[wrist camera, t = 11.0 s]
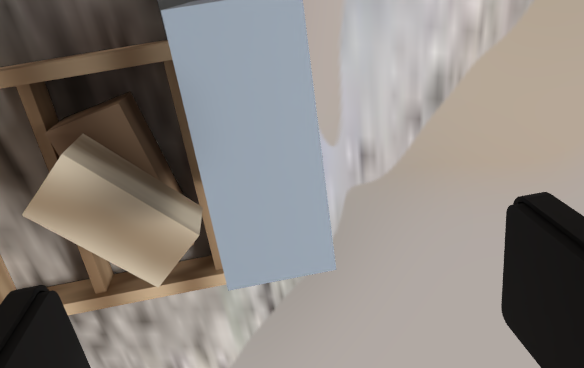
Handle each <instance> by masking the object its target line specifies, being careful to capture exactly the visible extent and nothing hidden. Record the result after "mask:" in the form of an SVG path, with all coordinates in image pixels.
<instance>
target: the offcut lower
mask: <svg viewBox="0 0 584 368" xmlns="http://www.w3.org/2000/svg"><path fill="white" fill-rule="evenodd" d="M45 134H46V136H47V137H48V139H49V140H50V142H51V144H52V145H53V147H54V148H55V150H56V152H57V153H58V155H59V157H60V156H61V154H62V153H63V152H64V151H65V150H66V149H67V148H68V147H69V146H70V145H71V144H73V143H74V142H75V141H76V140H77V139H78V138H79V137H80V136H81V135H82V134H85V135H86V136H88V137H90V138H91V139H93V140H95V141H96V142H98V143H99V144H101V145H103V146H104V147H106V148H108V149H109V150H111V151H112V152H114V153H116V154H117V155H119V156H120V157H122V158H124V159H125V160H127V161H129V162H130V163H132V164H133V165H135V166H137V167H138V168H140V169H142V170H143V171H145V172H146V173H148V174H150V175H151V176H153V177H154V178H156V179H158V180H159V181H161V182H163V183H164V184H166V185H167V186H169V187H171V188H172V189H174V190H176V191H177V192H179V193H180V194H182V195H184V194H183V193H182V191H181V189H180V187H179V185H178V183H177V181H176V179H175V177H174V175H173V173H172V171H171V169H170V167H169V165H168V164H167V162H166V160H165V158H164V156H163V154H162V152H161V150H160V148H159V146H158V144H157V142H156V140H155V138H154V136H153V134H152V133H151V131H150V129H149V127H148V125H147V123H146V121H145V119H144V117H143V115H142V113H141V111H140V109H139V107H138V105H137V104H136V102H135V100H134V98H133V96H132V94H131V92H128V93H126V94H123V95H121V96H118V97H116V98H113V99H111V100H108V101H106V102H103V103H101V104H98V105H96V106H93V107H91V108H88V109H85V110H83V111H80V112H78V113H75V114H73V115H70V116H68V117H65V118H63V119H62V120H61V121H60V122H58V123H57V124H56V125H54V126H53V127H52V128H50V129H49V130H48V131H46V132H45ZM192 245H194V243H193V244H192ZM192 245H191V246H192Z"/></svg>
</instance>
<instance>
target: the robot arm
mask: <svg viewBox="0 0 584 368" xmlns="http://www.w3.org/2000/svg"><path fill="white" fill-rule="evenodd" d="M503 270H504V271H503V288H502V313H503V317H504V320H505V322H506V323H507V325H508V326H509V328H510V329H511V330H512V331H513V333H514V334H515V335H516V336H517V338H518V339H519V340H520V341H521V343H522V344H523V345H524V347H525V348H526V349H527V350H528V352H529V353H530V354H531V355H532V357H533V358H534V359H535V360H536V362H537V363H538V364H539V365H540V367H541V368H584V216H582V215H581V214H579V213H578V212H576V211H575V210H574V209H572V208H570V207H569V206H568V205H566V204H565V203H563V202H562V201H560V200H559V199H557V198H556V197H554V196H553V195H551V194H549V193H547V192H542V193H537V194H531V195H525V196H521V197H517V198H516V199H515V201H514V203H513V205H510V206H509V207H508V209H507V215H506V233H505V251H504V269H503ZM0 368H91V367H90V365H89V363H88V361H87V358H86V356H85V354H84V351H83V349H82V347H81V345H80V342H79V340H78V338H77V335H76V333H75V331H74V329H73V326H72V324H71V322H70V319H69V317H68V315H67V313H66V310H65V308H64V306H63V303H62V301H61V299H60V297H59V295H58V293H57V292H56V291H53V290H52V291H49V289H48V288H47V287H46V286H43V285H39V286H34V287H29V288H23V289H18V290H13V291H11V292H10V293H9V294H8V295H7V296H6V297H5V299H4V300H3V301H2V303H1V304H0Z"/></svg>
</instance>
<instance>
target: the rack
mask: <svg viewBox="0 0 584 368" xmlns="http://www.w3.org/2000/svg"><path fill="white" fill-rule="evenodd" d="M162 61H163V63H164V67H165V71H166V75H167V79H168V83H169V87H170V91H171V94H172V98H173V102H174V106H175V110H176V114H177V118H178V122H179V126H180V130H181V134H182V138H183V142H184V146H185V150H186V154H187V158H188V162H189V166H190V170H191V174H192V178H193V182H194V186H195V190H196V193H197V197H198V201H199V205H200V206H201V207H203V211H202V217H203V221H204V225H205V229H206V233H207V237H208V241H209V245H210V249H211V253H212V255H211V256H206V257H201V258H195V259H190V260H185V261H180V262H178V263H177V265H176V266H175V267H174V268H173V270H172V271H171V272H170V274H169V275H168V276H167V277H166V279H165V280H164V281H163V282H162V284H161V285H160V286H159V288H158V287H156V286H154V285H152V284H150V283H149V282H147V281H145V280H143V279H141V278H139V277H137V276H135V275H133V274H132V273H130V272H123V273H118V274H113V271H112V268H111V266H110V263H109V261H107V260H105V259H103V258H101V257H100V256H98V255H96V254H94V253H92V252H90V251H88V250H86V249H85V248H83V247H81V246H79V245H77V246H78V249H79V252H80V254H81V257H82V259H83V262H84V265H85V267H86V270H87V272H88V275H89V278H90V279H86V280H81V281H76V282H71V283H66V284H60V285H55V286H50V287H47V288H48V289H49V291H52V290H53V291H56V292H57V293H58V295H59V297H60V299H61V301H62V303H63V306H64V308H65V310H66V313H67V315H72V314H77V313H83V312H88V311H93V310H98V309H103V308H108V307H113V306H118V305H123V304H128V303H133V302H138V301H144V300H149V299H154V298H159V297H164V296H169V295H174V294H179V293H184V292H189V291H194V290H200V289H205V288H210V287H215V286H220V285H225V284H226V279H225V275H224V271H223V267H222V263H221V259H220V254H219V250H218V246H217V242H216V238H215V234H214V230H213V225H212V221H211V217H210V213H209V209H208V205H207V200H206V196H205V192H204V188H203V184H202V180H201V175H200V171H199V167H198V163H197V159H196V155H195V151H194V146H193V142H192V138H191V134H190V130H189V126H188V121H187V117H186V113H185V109H184V105H183V101H182V97H181V92H180V88H179V84H178V80H177V76H176V72H175V67H174V63H173V59H172V55H171V51H170V47H169V43H168V40H163V41H157V42H151V43H145V44H139V45H133V46H127V47H121V48H114V49H108V50H102V51H96V52H90V53H84V54H78V55H72V56H66V57H60V58H54V59H48V60H42V61H36V62H30V63H24V64H18V65H11V66H5V67H0V89H1V88H7V87H13V86H16V88H17V91H18V93H19V96H20V98H21V101H22V104H23V106H24V109H25V111H26V114H27V117H28V119H29V122H30V124H31V127H32V130H33V132H34V135H35V137H36V140H37V143H38V145H39V148H40V150H41V153H42V156H43V158H44V161H45V163H46V166H47V168H48V171H49V173H50V171H51V170H52V168H53V167H54V165H55V164H56V162H57V161H58V159H59V155H58V153H57V152H56V150H55V148H54V147H53V145H52V144H51V142H50V140H49V139H48V137H47V136H46V134H45V132H46V131H48V130H49V129H50V128H52V127H53V126H54V125H56V124H57V123H58V122H59V121H58V118H57V115H56V112H55V110H54V107H53V104H52V101H51V98H50V96H49V93H48V90H47V87H46V84H45V82H44V81H49V80H55V79H61V78H67V77H73V76H79V75H85V74H91V73H97V72H103V71H109V70H115V69H121V68H127V67H133V66H139V65H145V64H151V63H156V62H162ZM13 290H17V289H16V287H15V285H14V283H13V281H12V279H11V277H10V274H9V272H8V270H7V268H6V266H5V264H4V262H3V259H2V257H1V255H0V304H1V303H2V301H3V300H4V299H5V297H6V296H7V295H8V294H9V293H10V292H11V291H13Z"/></svg>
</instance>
